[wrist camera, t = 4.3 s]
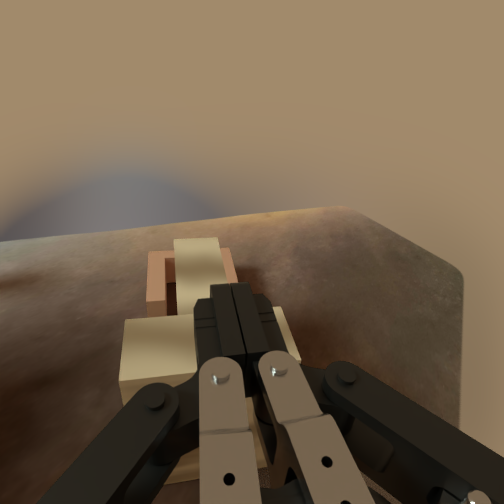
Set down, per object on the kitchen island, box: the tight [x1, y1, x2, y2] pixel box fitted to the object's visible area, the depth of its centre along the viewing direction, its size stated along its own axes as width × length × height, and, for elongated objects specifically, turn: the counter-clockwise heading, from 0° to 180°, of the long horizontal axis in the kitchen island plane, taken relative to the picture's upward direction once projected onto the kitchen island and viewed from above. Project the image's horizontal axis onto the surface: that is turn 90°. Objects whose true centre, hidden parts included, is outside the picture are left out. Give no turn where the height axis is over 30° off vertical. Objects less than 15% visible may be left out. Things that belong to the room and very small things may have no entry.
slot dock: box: [146, 248, 238, 318], centre depth 46 cm, size 10×10×4 cm
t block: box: [119, 237, 301, 485], centre depth 32 cm, size 15×11×13 cm
